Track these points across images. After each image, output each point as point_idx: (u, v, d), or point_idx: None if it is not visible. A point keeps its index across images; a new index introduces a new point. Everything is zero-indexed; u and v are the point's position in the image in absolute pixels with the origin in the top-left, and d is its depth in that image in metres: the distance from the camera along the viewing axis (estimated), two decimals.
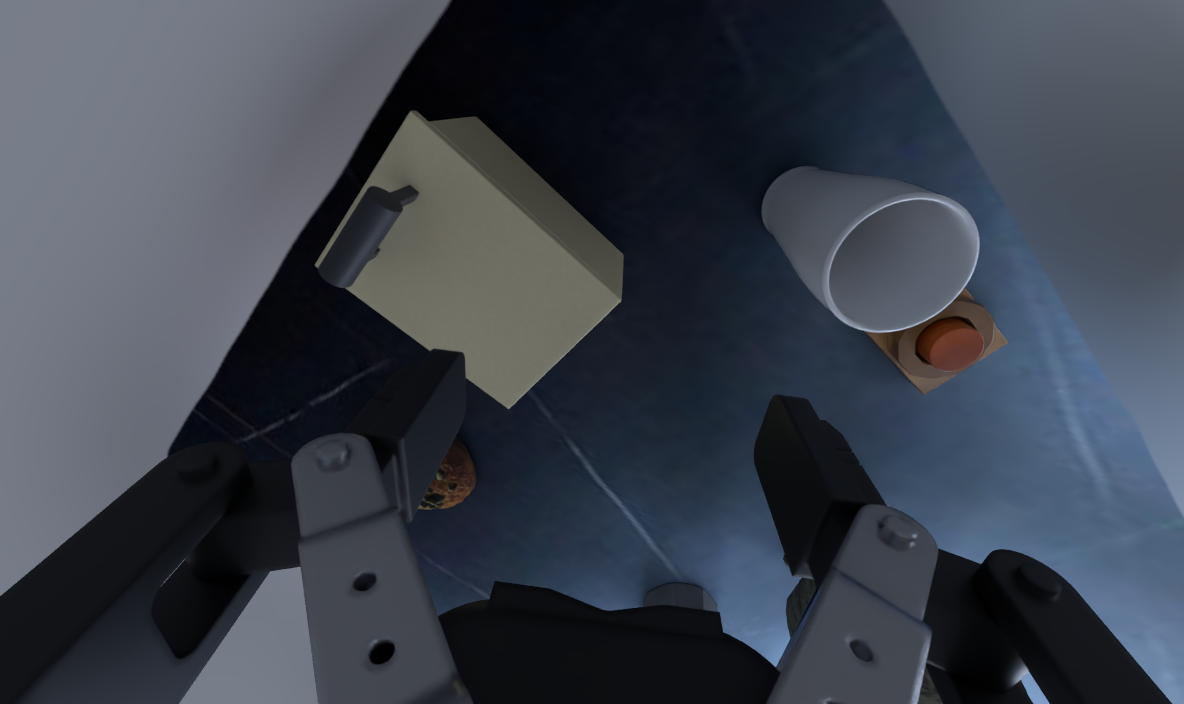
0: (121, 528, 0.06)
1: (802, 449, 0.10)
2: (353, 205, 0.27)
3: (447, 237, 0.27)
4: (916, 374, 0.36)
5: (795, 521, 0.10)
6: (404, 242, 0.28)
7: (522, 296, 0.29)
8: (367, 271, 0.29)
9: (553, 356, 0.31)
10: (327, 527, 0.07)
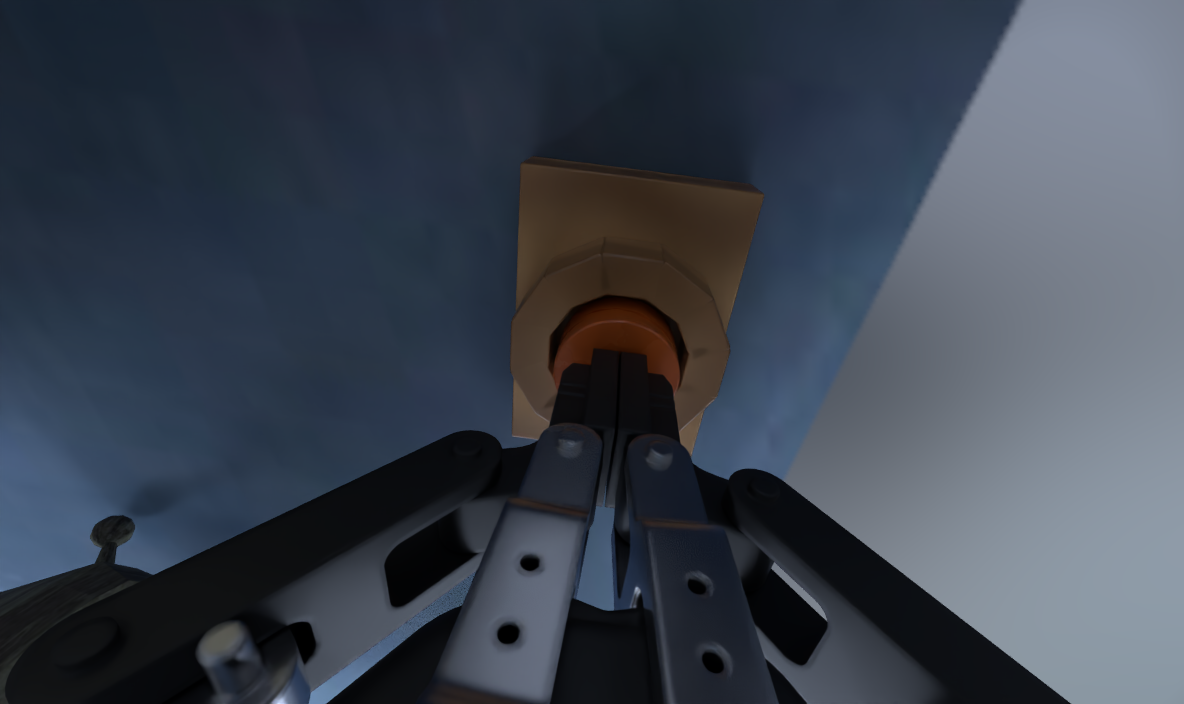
0: (399, 480, 0.07)
1: (619, 394, 0.11)
2: None
3: None
4: (519, 378, 0.15)
5: (610, 458, 0.11)
6: None
7: None
8: None
9: None
10: (536, 499, 0.07)
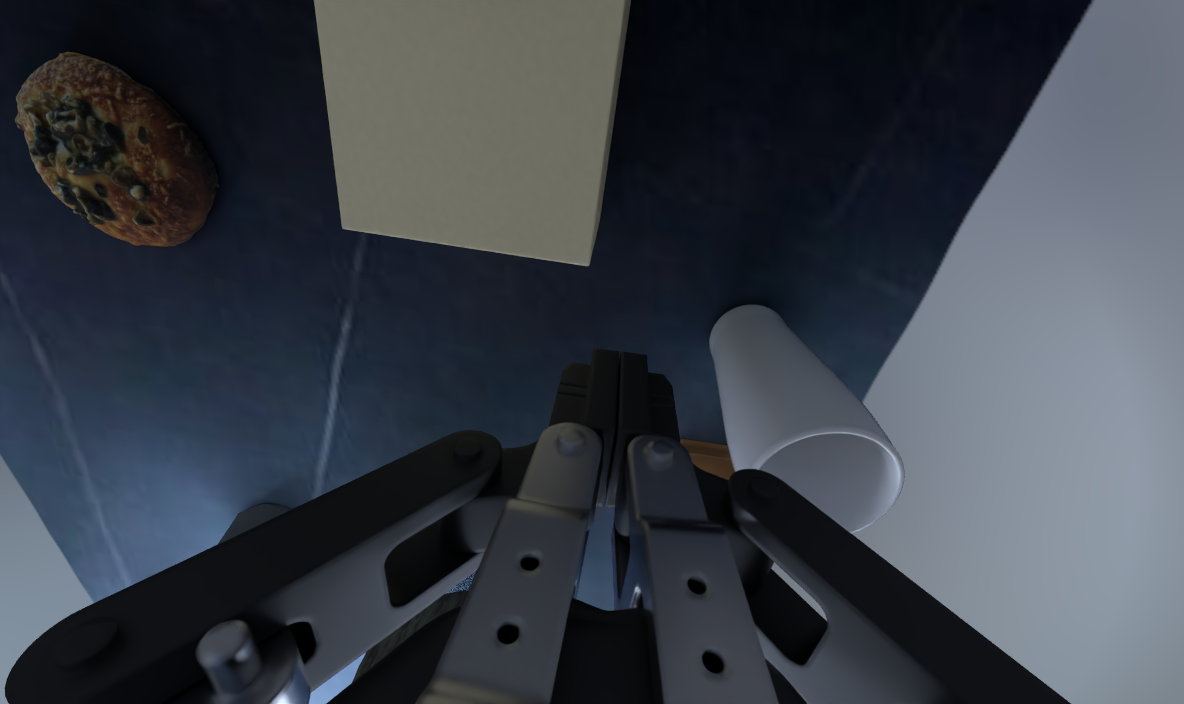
0: (399, 480, 0.07)
1: (619, 394, 0.11)
2: None
3: None
4: None
5: (610, 458, 0.11)
6: None
7: (506, 146, 0.19)
8: None
9: (461, 237, 0.21)
10: (536, 498, 0.07)
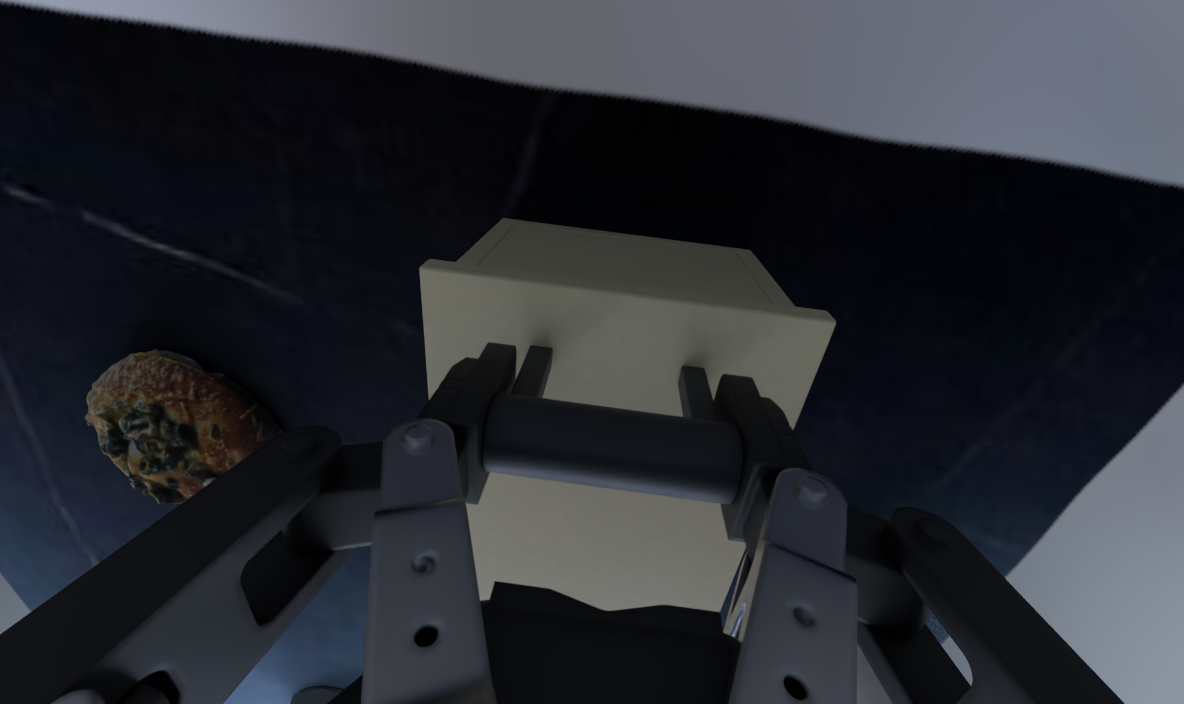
0: (230, 496, 0.07)
1: (739, 421, 0.10)
2: (600, 293, 0.13)
3: None
4: None
5: None
6: (594, 395, 0.14)
7: (630, 559, 0.18)
8: None
9: None
10: (402, 504, 0.07)
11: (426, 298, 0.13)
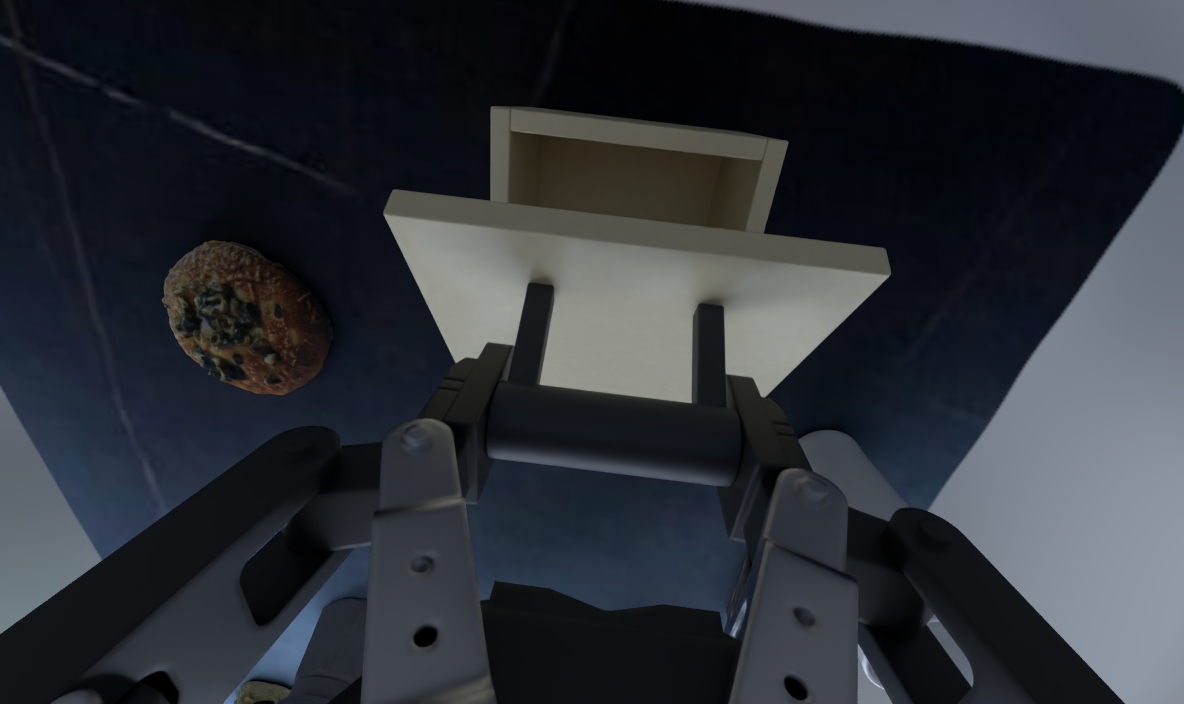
0: (229, 496, 0.07)
1: None
2: (603, 242, 0.11)
3: (662, 356, 0.15)
4: None
5: (732, 489, 0.10)
6: (602, 320, 0.14)
7: None
8: (490, 292, 0.13)
9: None
10: (402, 504, 0.07)
11: (401, 241, 0.11)
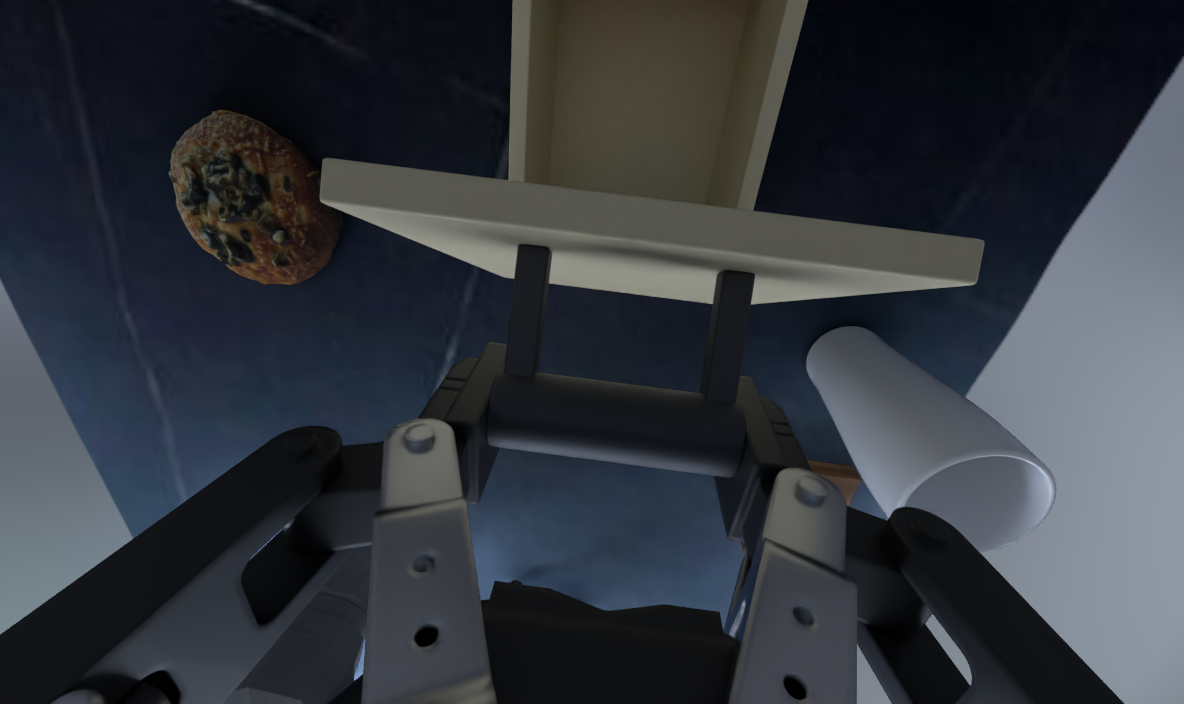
0: (230, 496, 0.07)
1: None
2: (603, 238, 0.08)
3: (682, 279, 0.13)
4: None
5: (731, 488, 0.10)
6: (611, 262, 0.12)
7: (662, 291, 0.19)
8: (476, 242, 0.11)
9: (613, 290, 0.23)
10: (403, 504, 0.07)
11: (354, 215, 0.09)
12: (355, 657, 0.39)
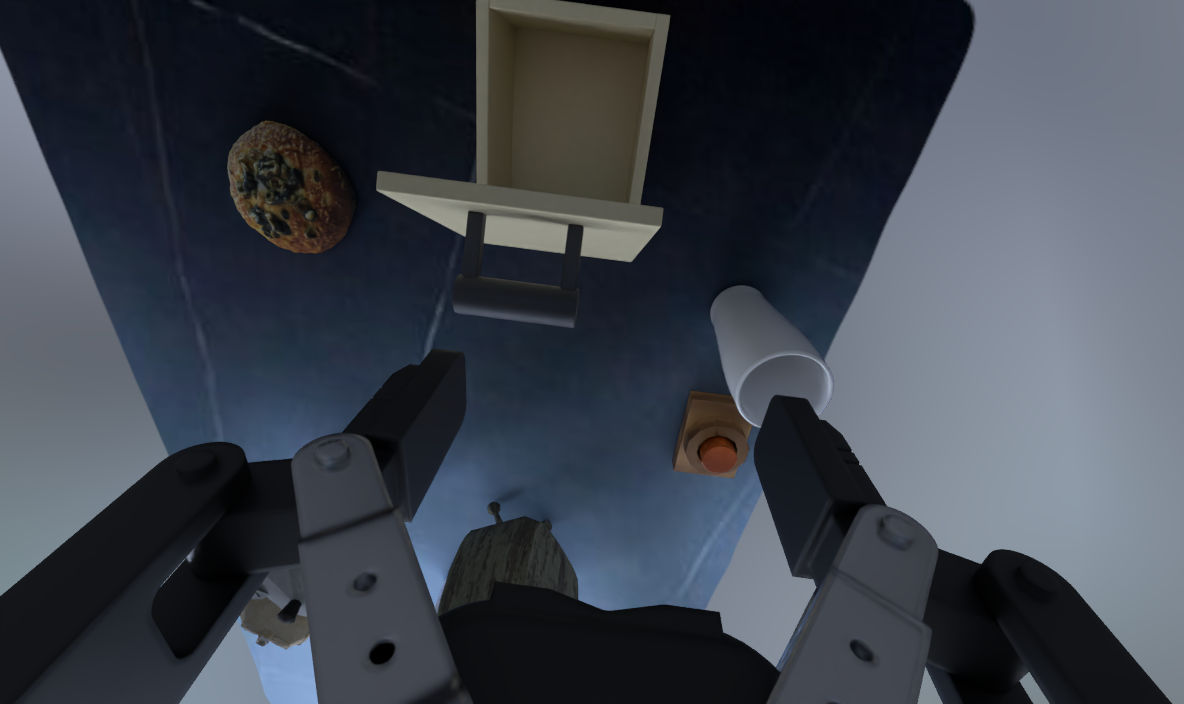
0: (121, 528, 0.06)
1: (802, 449, 0.10)
2: (500, 206, 0.19)
3: (565, 233, 0.24)
4: (687, 456, 0.50)
5: (795, 521, 0.10)
6: (519, 222, 0.22)
7: None
8: (448, 210, 0.21)
9: (549, 251, 0.34)
10: (327, 527, 0.07)
11: (389, 196, 0.20)
12: None
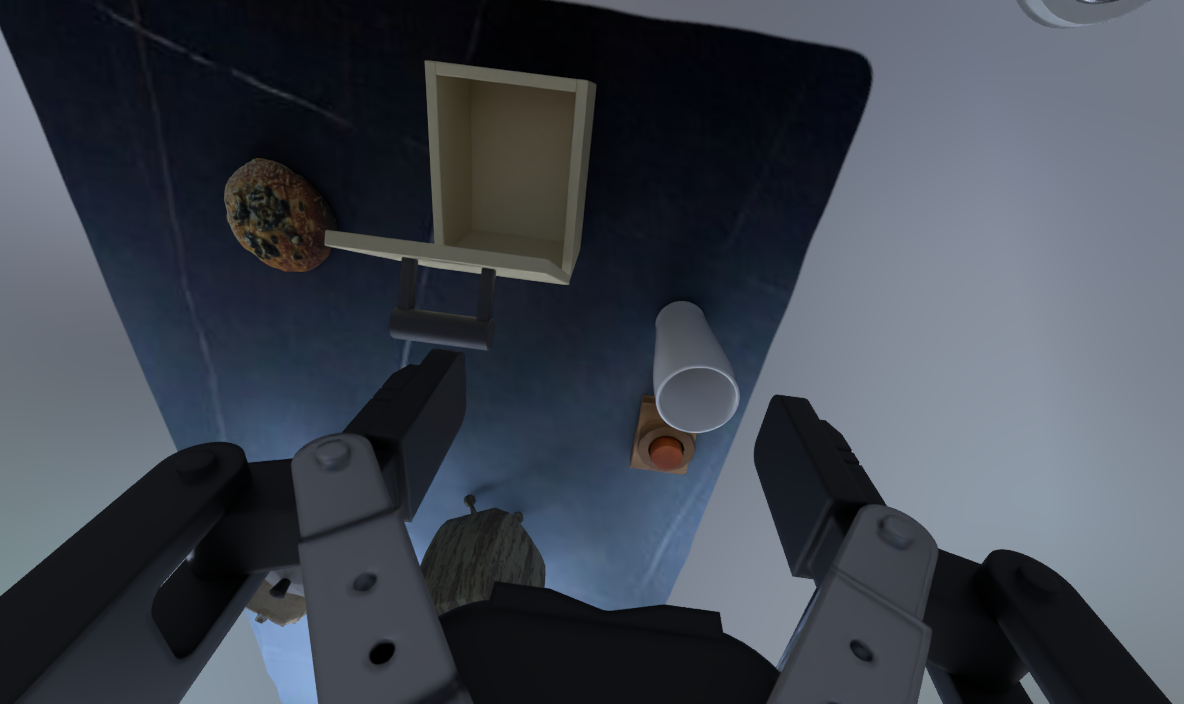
0: (121, 528, 0.06)
1: (802, 449, 0.10)
2: (421, 257, 0.24)
3: None
4: (639, 454, 0.55)
5: (795, 521, 0.10)
6: None
7: None
8: (387, 255, 0.27)
9: (497, 275, 0.39)
10: (327, 527, 0.07)
11: None
12: None
